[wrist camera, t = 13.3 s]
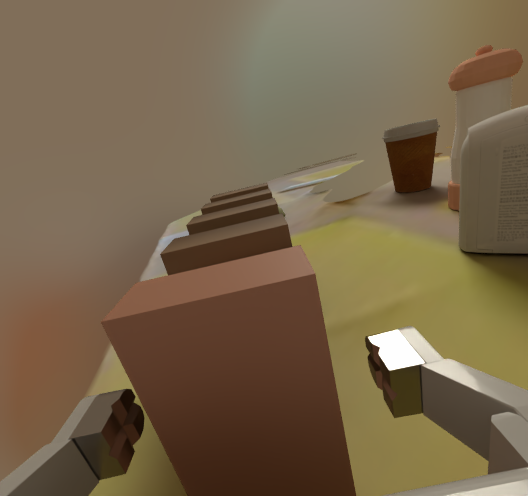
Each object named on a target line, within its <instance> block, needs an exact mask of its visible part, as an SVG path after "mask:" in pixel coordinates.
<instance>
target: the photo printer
mask: <svg viewBox="0 0 528 496" xmlns="http://www.w3.org/2000/svg"><path fill="white" fill-rule="evenodd" d="M459 247H460V248H461V249H462V250H463V251H466V252H478V253H519V254H528V105H527V106H523V107H519V108H516V109H513V110H509V111H506V112H504V113H501V114H498V115H496V116H493V117H491V118H488V119H486V120H484V121H482V122H479V123H477V124H475V125H473V126H471V127H470V128H468V133H467V137H466V139H465V140H464V142H463V145H462V148H461V160H460V202H459Z"/></svg>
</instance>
